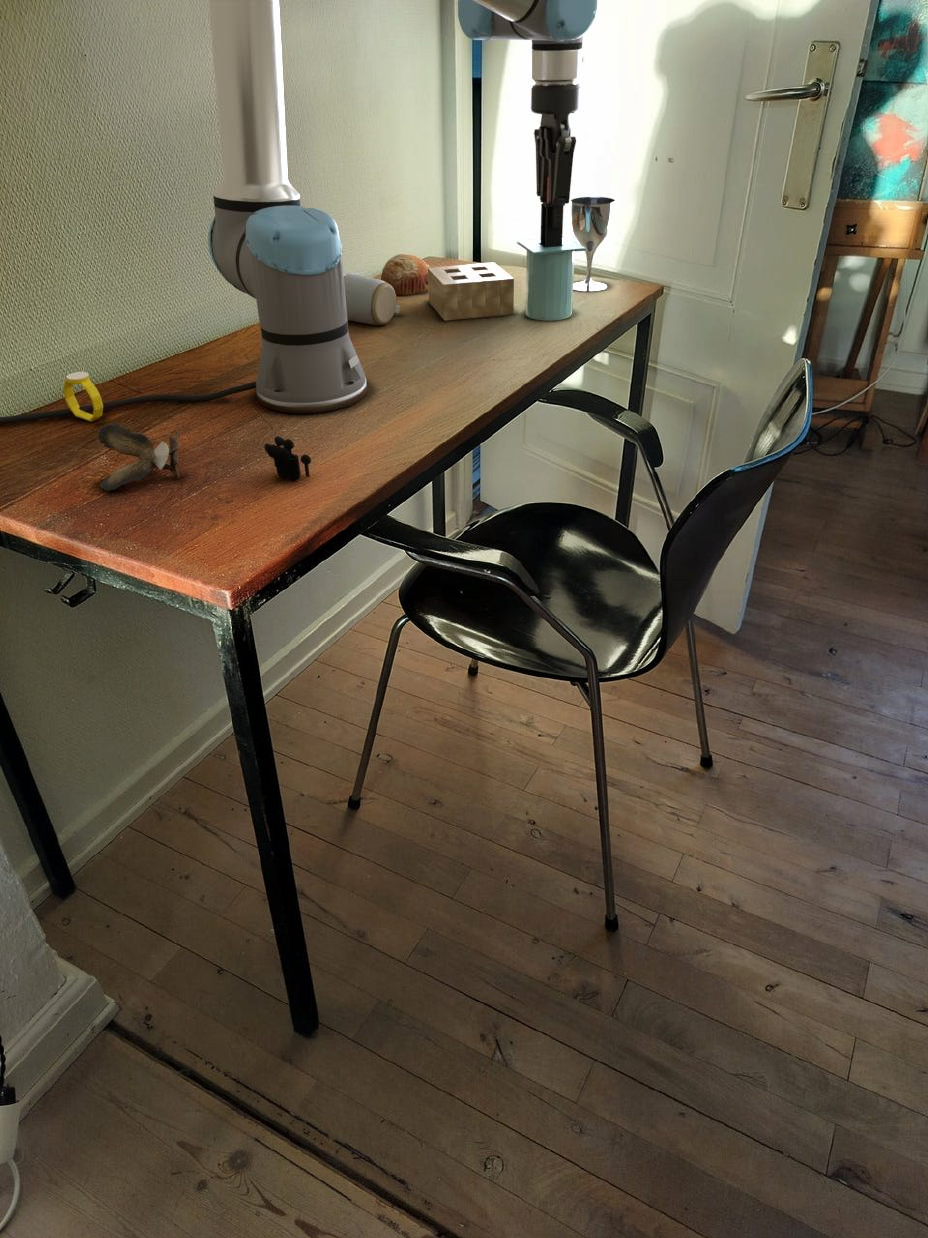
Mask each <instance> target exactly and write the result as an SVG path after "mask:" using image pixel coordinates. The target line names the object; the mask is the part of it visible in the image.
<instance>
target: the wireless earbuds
mask: <svg viewBox="0 0 928 1238" xmlns="http://www.w3.org/2000/svg"><path fill="white" fill-rule="evenodd" d="M294 448H295V443H294V441H292V439H289V438H287V439H284V438H283V437H281V436H278V435H277V436H275V437H274V444H271V443H268V442H267V443H265V444H264V451H265V453H266V454H267V455H268V456H269V457H270V458H271V459H273V463H274V467H275V470H276V474H277V476H278V477H280V478H282V479H285V480H288V481H292V482H297V481H299V480H300V479H301V476H302V474H301V466H300V462H301V464H303V465H304V473H305V478H309V477H310V476H311V475H310V468H309V465H310V464H311V463H312V458H311V457H310V456H309V455H308V454H302V455H301V457H300V459H299V455H298V454H295V453H293V451H292V450H293V449H294Z"/></svg>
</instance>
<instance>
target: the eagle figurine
mask: <svg viewBox="0 0 928 1238" xmlns="http://www.w3.org/2000/svg"><path fill="white" fill-rule="evenodd" d="M97 434H98V435H97V437H96V439H97V440H99V443H101V444H103V446H104V447H105V448H107V449H110V450H113V451H116V452H117V453H119V454H121V455H126V456H132V457H136V458H138V459H137V460H135V461H133V462H131V463H128V464H125V465H123V466H121V467H119V468H117V469H116V470H114V472H112V474H111V475H109V476H108V477H107V478H105V479H104V480H103V481H101V482H100V484H99V488H100V489H102V490H104V491H107V492H108V491H113V490H116V489H119V488H120V487H121V486H124V485H126V484H127V483H131V482H134V481H135V482H137V481H141V480H143V479H144V478H147V477H148V476H149V474H150V471H151V470H152V469H159V470H160V471H162V470H164V471H165V470H166V471H167V470H168V471H169V472H171V473H172V474H173V476H174V477H175V478H177V479H180V473H179V469H178V466H179V465H180V462H179V449H180V445H179V444H180V443H179V442H180V440H179V439H180V432H179V428H177V429H176V430H175V432H174V435H173V437H172V436H171V435H170V436H168V443H169V446H168V444H167V443H166V442H165V441H163V440H162V441H161V442H160V443H159V444H158V445H157V446H156V447H155V448H154V446H153V445H154V443H153V441H152V439H150V438H149V437H148V436H147V435H145V434H144V433H142V432H135V431H131V430H130V429H128V428H125V426H122V424H120V423H116V422H114V423H113V422H112V423H108V424H104V425H101V428H99V430H98V432H97ZM169 456H170V461H169ZM168 461H169V464H167V463H168Z"/></svg>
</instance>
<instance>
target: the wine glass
mask: <svg viewBox="0 0 928 1238" xmlns="http://www.w3.org/2000/svg"><path fill="white" fill-rule="evenodd" d="M615 208H616V200H615V199H614V198H611V197H606V196H605V197H604V196H583V197H582V196H581V197H574V198H572V199H571V200H570V207H569V209H570V212H569V214H570V215H569V217H570V225H571V231H572V234H573V236H574V238H575V239H576V241H577V243H578V244H580V245H581V246H583V247H585V248H586V251H584V253H585V258H586V278H585V279H584V280H582V281H577V282H576V281H575V282H573V291H578V292H599V291H603V290H606V289H607V288H608V286H607V284H605V283H603V282H600V281H594V280H593V279H592V266H593V261H594V260H593V259H594V257H595V253H596V252H597V250H598V248H599V247H600V245H601V244H602V243H603V242H604V241H605V240H606V238H607V237H608V236H609V234H610V232H611V229H612V226H613V222H614V216H615Z"/></svg>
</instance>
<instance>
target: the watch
mask: <svg viewBox="0 0 928 1238" xmlns="http://www.w3.org/2000/svg"><path fill="white" fill-rule="evenodd" d="M74 385H80V386H81V387H82V388H83V389H84V390H85V391H86V393H87V395H88V396H89V398H90V400H91V405H93V408H94V410H93V411H92V414H91V413H90V412H84V411H82V410H80V409H79V407H81V405H80V404H79V402H78V400H77V398H76V396H75V392H74ZM62 391H63V392H62V393H63V397H64V400H65V403H66V405H67V406H68V408H70V410H71V411H72V412H73V413H74V414H73V415H74V417H76V418H79V419H81V420H82V419H83V420H85V421H88V422H91V423H93V422H95V421H97V420H99V419H100V418H101V417H102V416H103V413H104V412H103V411H104V410H103V403H104V402H103V400H102V396H101V394H100V392H99V390H98V388H97V387H96V386H95V384H94V383H93V382H92V381H91V378H90V374H89V372H85V371H76V372H72V373H69V374H67V375H66V379H65V380H64V381H63V386H62Z"/></svg>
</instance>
